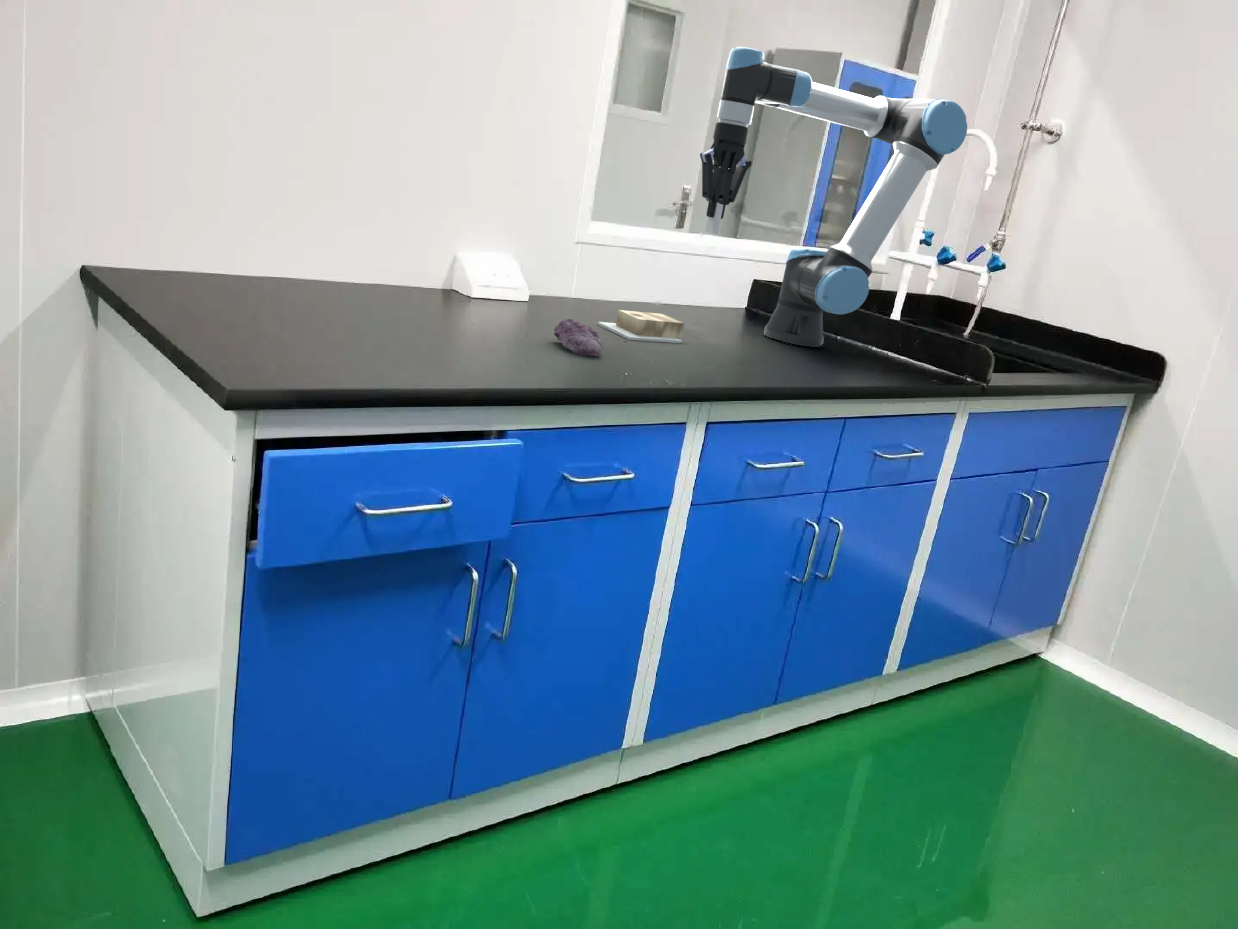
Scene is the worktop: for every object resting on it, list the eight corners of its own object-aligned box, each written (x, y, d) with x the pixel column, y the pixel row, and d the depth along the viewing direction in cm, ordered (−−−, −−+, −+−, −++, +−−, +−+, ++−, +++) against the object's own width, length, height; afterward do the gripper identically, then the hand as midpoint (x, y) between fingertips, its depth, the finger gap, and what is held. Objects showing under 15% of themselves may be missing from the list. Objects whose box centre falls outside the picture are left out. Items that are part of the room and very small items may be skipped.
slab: (662, 313, 234) (618, 309, 227) (684, 322, 227) (639, 319, 220) (659, 328, 235) (615, 325, 228) (680, 338, 228) (636, 334, 221)
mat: (648, 328, 236) (649, 325, 236) (681, 343, 225) (682, 340, 225) (597, 324, 229) (597, 321, 229) (629, 339, 218) (629, 337, 217)
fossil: (578, 342, 206) (582, 317, 205) (611, 360, 195) (617, 334, 193) (542, 339, 202) (547, 313, 200) (574, 358, 191) (579, 331, 189)
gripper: (745, 127, 227) (724, 232, 234) (699, 117, 220) (678, 226, 227) (766, 129, 221) (744, 238, 228) (719, 119, 214) (697, 232, 221)
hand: (711, 232), depth 227 cm, fingers closed
